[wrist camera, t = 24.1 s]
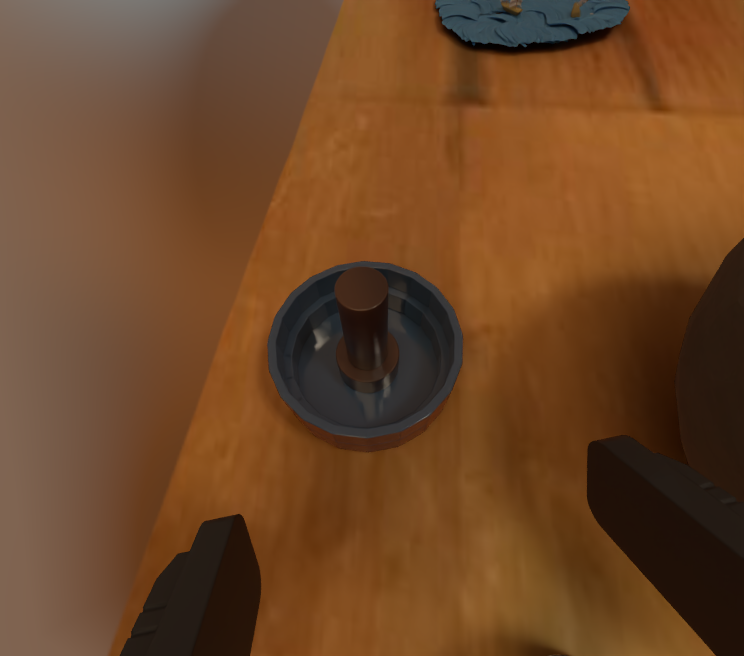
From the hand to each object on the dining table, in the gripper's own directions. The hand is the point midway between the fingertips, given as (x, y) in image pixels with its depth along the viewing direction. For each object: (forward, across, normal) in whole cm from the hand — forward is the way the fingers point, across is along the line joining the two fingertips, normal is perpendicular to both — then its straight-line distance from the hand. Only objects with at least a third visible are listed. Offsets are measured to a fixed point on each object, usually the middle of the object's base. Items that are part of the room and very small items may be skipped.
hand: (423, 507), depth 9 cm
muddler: (+21, 0, +5) cm, 22 cm away
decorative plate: (+61, -35, -33) cm, 78 cm away
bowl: (+22, 0, +6) cm, 23 cm away
